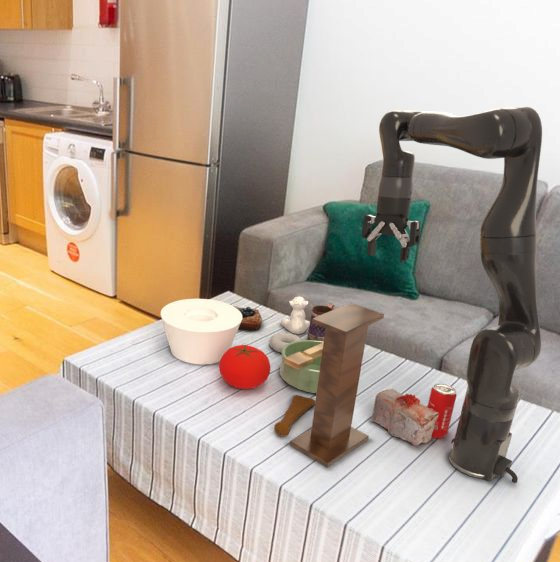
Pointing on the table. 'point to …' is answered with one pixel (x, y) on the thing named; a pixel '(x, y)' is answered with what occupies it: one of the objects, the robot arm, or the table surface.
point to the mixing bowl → (304, 376)
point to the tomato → (244, 367)
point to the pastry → (250, 319)
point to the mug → (315, 330)
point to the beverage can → (442, 407)
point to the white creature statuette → (297, 317)
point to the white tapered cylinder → (200, 329)
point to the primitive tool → (293, 414)
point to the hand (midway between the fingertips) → (386, 258)
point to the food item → (404, 416)
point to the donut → (282, 340)
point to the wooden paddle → (304, 357)
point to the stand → (337, 385)
